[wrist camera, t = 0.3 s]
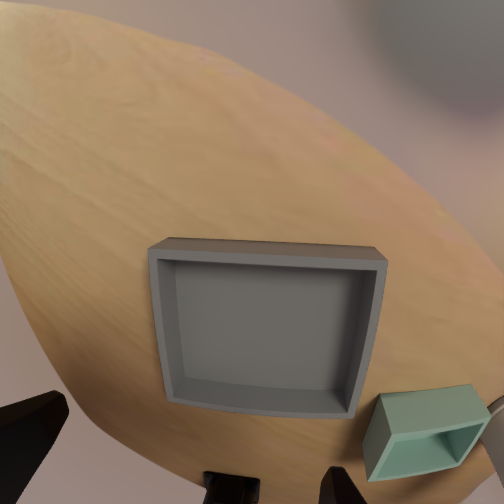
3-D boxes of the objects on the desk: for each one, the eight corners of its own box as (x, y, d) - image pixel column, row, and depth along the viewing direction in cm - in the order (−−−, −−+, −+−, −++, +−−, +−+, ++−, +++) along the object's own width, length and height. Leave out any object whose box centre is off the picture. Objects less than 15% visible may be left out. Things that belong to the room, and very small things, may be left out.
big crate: (348, 390, 22) (353, 418, 19) (181, 376, 24) (167, 401, 21) (373, 246, 19) (388, 260, 16) (168, 237, 21) (147, 248, 18)
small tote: (471, 384, 21) (492, 416, 16) (446, 433, 22) (459, 465, 18) (379, 393, 22) (391, 434, 17) (361, 443, 24) (367, 482, 19)
